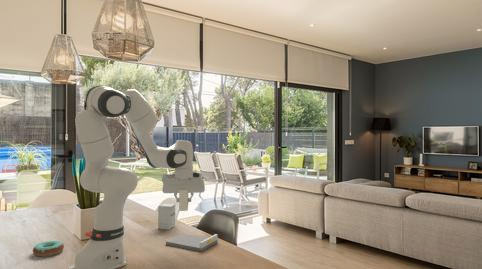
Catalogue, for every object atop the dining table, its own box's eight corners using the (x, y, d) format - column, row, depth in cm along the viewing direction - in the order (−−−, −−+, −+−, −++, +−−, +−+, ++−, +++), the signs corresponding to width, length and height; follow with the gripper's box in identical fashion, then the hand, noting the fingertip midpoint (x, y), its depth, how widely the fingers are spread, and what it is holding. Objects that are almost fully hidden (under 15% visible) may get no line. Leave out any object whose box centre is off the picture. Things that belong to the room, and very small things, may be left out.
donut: (56, 246, 157) (56, 238, 157) (68, 252, 149) (68, 243, 149) (28, 253, 148) (28, 244, 147) (39, 260, 140) (39, 250, 140)
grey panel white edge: (202, 251, 151) (202, 242, 151) (165, 244, 160) (166, 236, 160) (217, 242, 163) (217, 234, 163) (183, 236, 172) (183, 228, 172)
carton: (179, 207, 166) (179, 187, 166) (188, 207, 167) (188, 187, 166) (179, 211, 160) (179, 190, 160) (188, 210, 161) (188, 189, 161)
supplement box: (170, 229, 184) (170, 206, 184) (157, 228, 186) (157, 205, 185) (175, 226, 191) (175, 203, 191) (163, 225, 193) (163, 203, 193)
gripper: (161, 174, 159) (161, 203, 159) (204, 174, 161) (204, 202, 161) (162, 172, 165) (162, 201, 165) (204, 172, 167) (204, 199, 168)
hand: (183, 201), depth 163 cm, fingers closed on carton, 4 cm apart
